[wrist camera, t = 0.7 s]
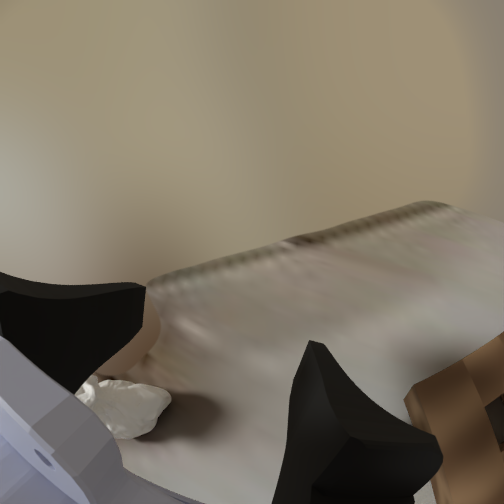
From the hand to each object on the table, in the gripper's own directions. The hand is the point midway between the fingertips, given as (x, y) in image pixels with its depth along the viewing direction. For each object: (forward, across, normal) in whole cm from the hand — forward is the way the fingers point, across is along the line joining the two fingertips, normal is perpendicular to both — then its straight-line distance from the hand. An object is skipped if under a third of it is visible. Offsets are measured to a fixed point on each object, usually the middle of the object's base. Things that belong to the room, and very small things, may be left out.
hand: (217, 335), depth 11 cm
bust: (+8, +8, +19) cm, 22 cm away
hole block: (+4, -24, +6) cm, 25 cm away
